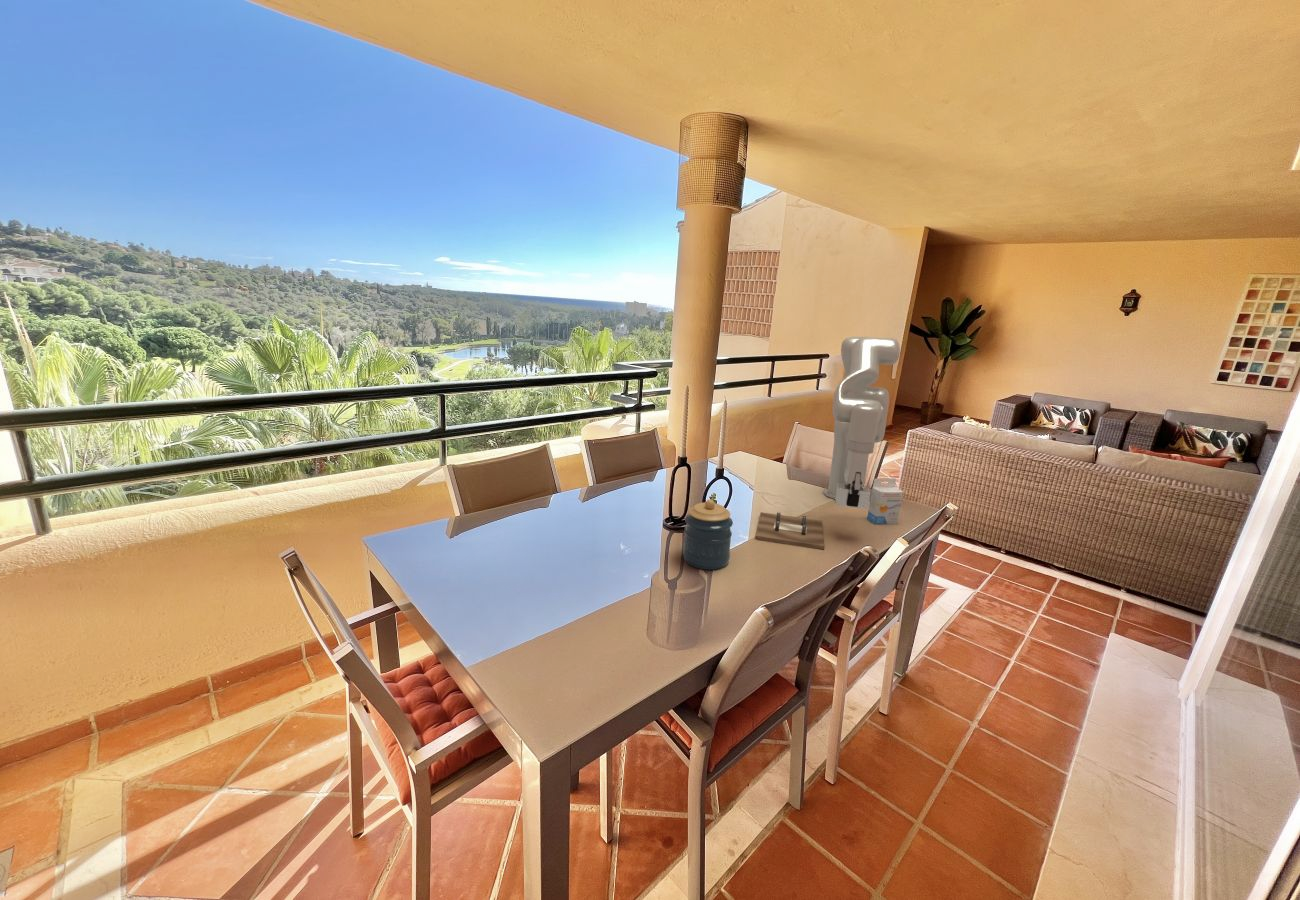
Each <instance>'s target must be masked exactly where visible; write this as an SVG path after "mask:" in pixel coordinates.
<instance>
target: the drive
mask: <svg viewBox="0 0 1300 900" xmlns="http://www.w3.org/2000/svg"><path fill="white" fill-rule="evenodd" d="M853 487H854V486H852V488H853ZM849 492H850V485H846V484H838V485H837V492H836V499H834V500H835V505H836V506H839V507H846V508H847V507H848V508H856V509H862V510H863V509H864V510H869V504H870V499H871V493H872V491H871V489H870V487H869V486H864V485H863V486H860V497H859V503H858V507H853V506H847V498H848V493H849Z"/></svg>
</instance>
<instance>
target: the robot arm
mask: <svg viewBox="0 0 1300 900" xmlns="http://www.w3.org/2000/svg"><path fill="white" fill-rule="evenodd" d="M900 352H901V348H900V344H899V341H898V340H897V339H895V338H889V337H869V336H851V337H846V338H845V339H844V340H843V341H842V343H841V347H840V355H841V362H842V365H843V368H844V377H843V379H841V381H840V382H839V383H838V385H837V386H836V387H835V390H834V394H833V401H832V416H833V419H834V424H833V431H834V433H833V447H832V448H833V450H832V458H831V463H830V464H831V465H830V471H829V472H830V473H829V480H828V487H825V488H824V489H823V491H822V492H823V495H825V496H826V497H827V498H830V499H833V500H835V499H836V492H837V485H838V484H846V485H850V492H849V493H848V498H847V506H853V507H852V508H855V507H858V503H859V497H860V486H864V484H865V480H866V476H867V468H868V463H869V456H870V454H873V453H874V450H875V445H876V444H877V443H880V442H882V441H883V439H884V437H885V432H886V427H887V418H888V412H889V403H890V394H889V391H888V389H886V388H884V387H881V386H871V385H873V384H875V382H876V383H877V381H878V379H879V375H880V372H879V371H880V370H879V369H880V368H879V367H880V365H886V366H887V365H890V366H892V365H895V364H896V363H897V362H898V360H899V358H900V354H901V353H900ZM852 486H854V487H853V488H852ZM847 506H846V507H847Z"/></svg>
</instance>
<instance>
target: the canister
mask: <svg viewBox="0 0 1300 900" xmlns="http://www.w3.org/2000/svg"><path fill="white" fill-rule="evenodd" d="M684 521H685V523H686V525H685V527H684V540H683V548H682V551H683V552H682V554H683V555H682V556H683V559H684V561H685V563H686V564H688V565H690V566H691V567H693V568H697V569H700V570H706V571H709V570H710V571H711V570H712V571H713V570H719V569H722V568H725V567H726V566H728V564H729V562H730V561H729V560H730V558H731V539H732V535H733V534H732V530H731V528H732V526H733V525H734V522H733V519H732V518H731V512H730V510H729V509H727V508H725V506H723V505H722V504H720V503H715V501H714V500H713V499H707V500H706V501H705V502H704V501H703V502H698V503H696V504H694V505H693V506H691V507H689V509H688V514H686V515H685V516H684Z"/></svg>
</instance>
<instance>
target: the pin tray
mask: <svg viewBox="0 0 1300 900" xmlns="http://www.w3.org/2000/svg"><path fill="white" fill-rule="evenodd" d="M823 526H824V525H823V520H821V519H820V520H819V519H815V518H813V519H812V518H808V517H807V516H806V515H802V516H801V517H798V516H792V515H784V514H783V515H782V514H781V512H776V513H768V512H760V515H759V519H758V523H757V528H756V533H755V540H756V541H763V542H771V543H777V544H784V545H791V546H797V547H802V548H803V547H804V548H809V549H810V548H811V549H817V550H825V548H826V547H825V545H826V544H825V536H824V528H823Z"/></svg>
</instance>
